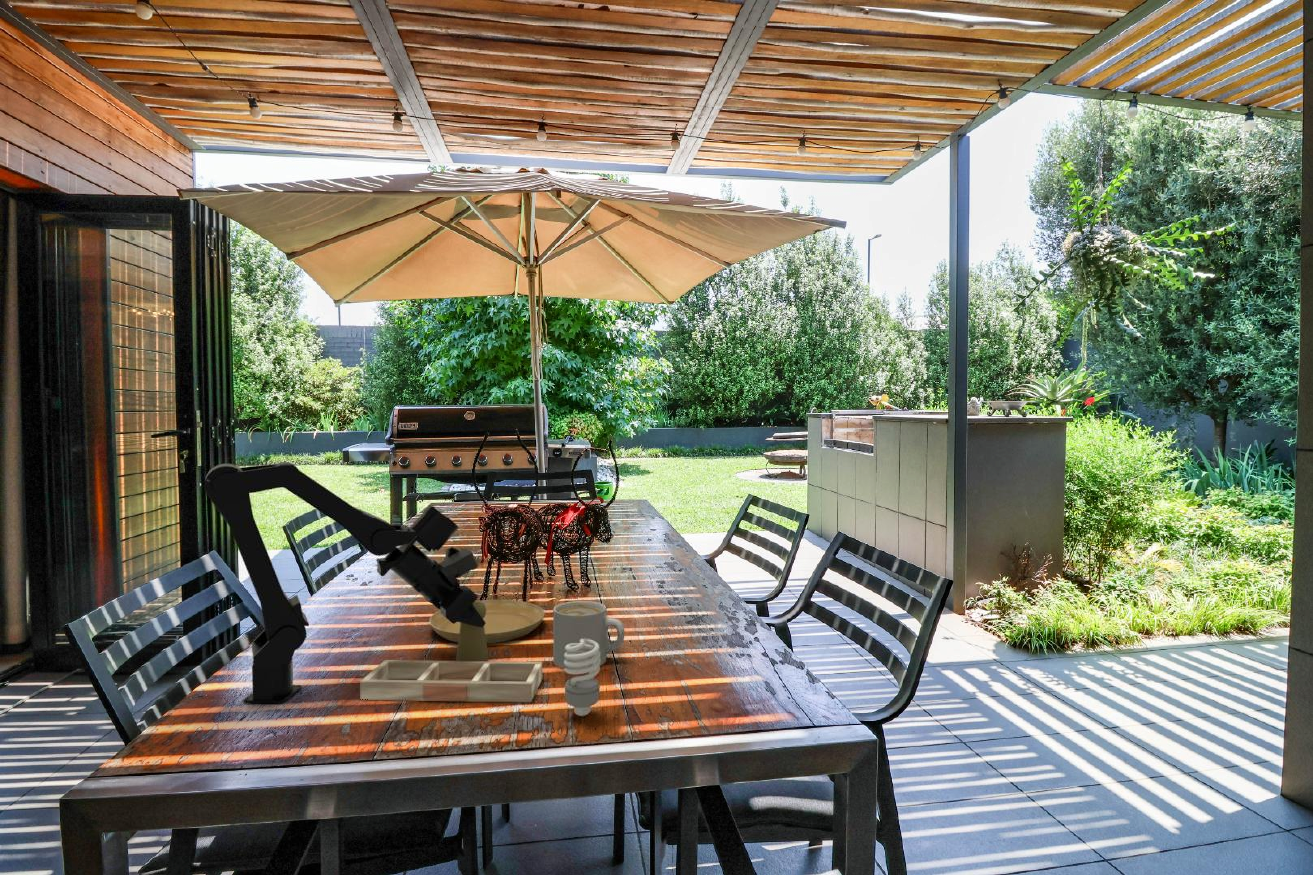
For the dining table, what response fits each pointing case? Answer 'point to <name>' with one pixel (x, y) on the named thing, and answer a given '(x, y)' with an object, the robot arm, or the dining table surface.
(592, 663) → the light bulb
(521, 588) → the dining table surface
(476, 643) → the olive chess pawn
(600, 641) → the coffee mug
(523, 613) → the plant saucer
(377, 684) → the rack
